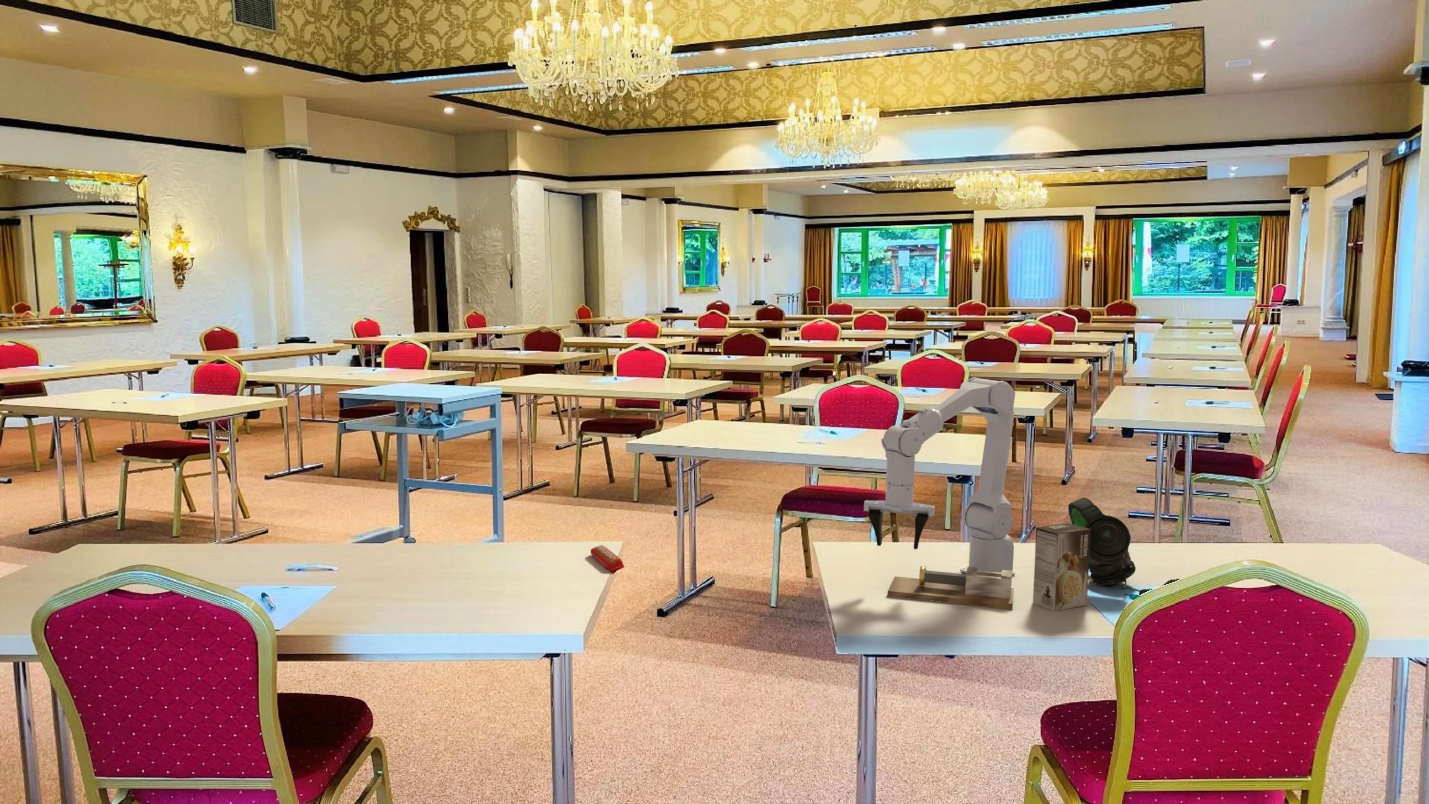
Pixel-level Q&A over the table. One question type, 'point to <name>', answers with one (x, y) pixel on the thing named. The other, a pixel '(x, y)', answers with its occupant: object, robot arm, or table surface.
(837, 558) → the table surface
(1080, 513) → the headset
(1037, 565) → the coffee box
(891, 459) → the robot arm
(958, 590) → the board
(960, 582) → the shaft
